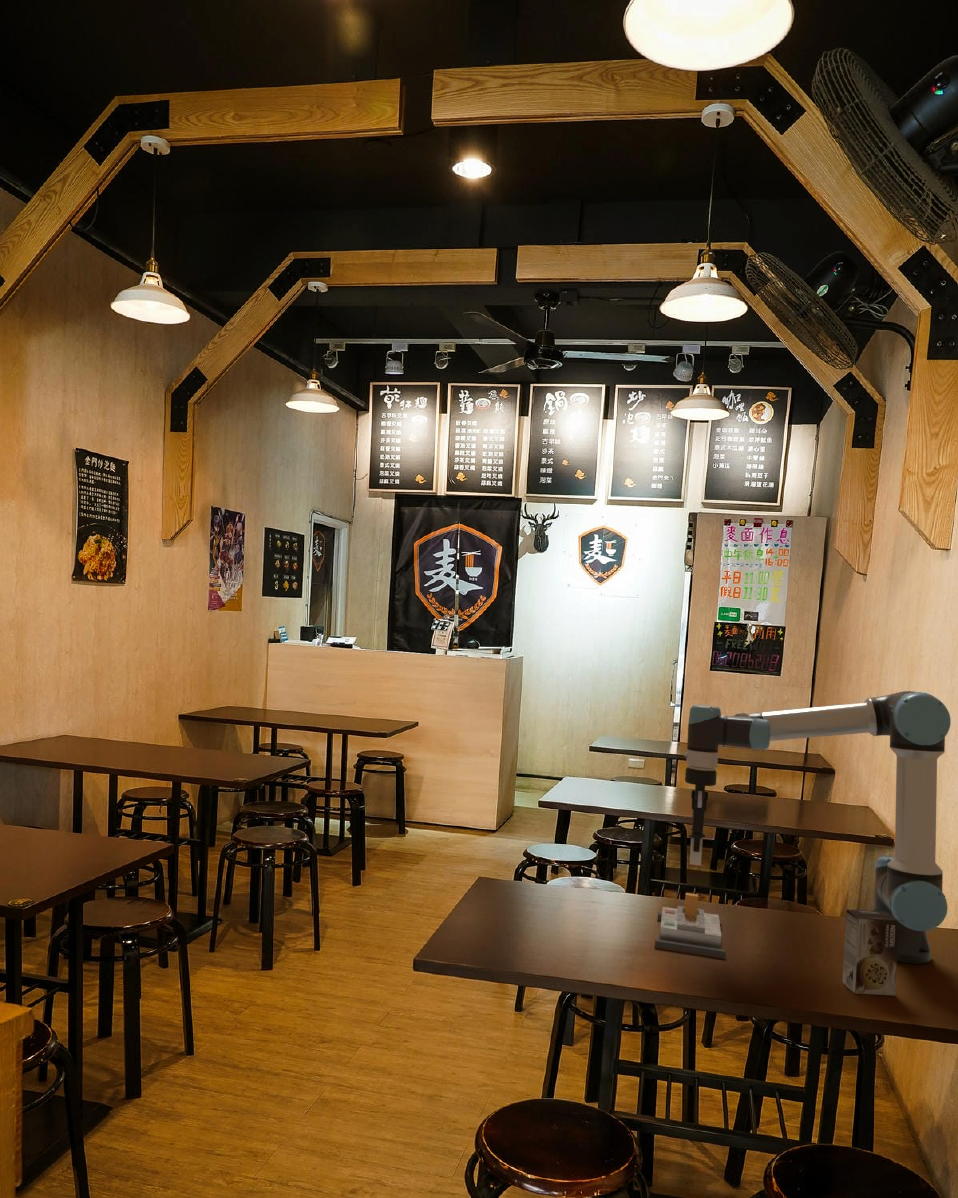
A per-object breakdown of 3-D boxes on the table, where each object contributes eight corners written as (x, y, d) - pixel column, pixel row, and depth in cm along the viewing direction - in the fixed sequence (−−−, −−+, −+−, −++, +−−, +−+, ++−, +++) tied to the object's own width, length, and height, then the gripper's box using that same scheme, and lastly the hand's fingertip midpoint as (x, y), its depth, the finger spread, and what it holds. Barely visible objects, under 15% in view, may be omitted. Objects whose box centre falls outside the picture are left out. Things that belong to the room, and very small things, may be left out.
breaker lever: (696, 914, 224) (698, 894, 224) (696, 917, 222) (698, 896, 223) (684, 913, 225) (685, 892, 225) (684, 915, 223) (685, 895, 223)
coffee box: (881, 985, 197) (885, 911, 198) (896, 997, 191) (900, 920, 191) (840, 982, 197) (845, 908, 197) (854, 994, 190) (859, 917, 191)
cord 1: (721, 928, 229) (721, 922, 229) (721, 930, 227) (721, 923, 227) (657, 919, 233) (658, 912, 233) (657, 920, 231) (657, 914, 231)
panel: (717, 931, 226) (718, 911, 227) (720, 953, 209) (721, 932, 209) (661, 922, 230) (662, 903, 230) (659, 944, 212) (660, 923, 212)
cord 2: (724, 956, 207) (725, 949, 207) (725, 959, 206) (725, 952, 206) (654, 945, 211) (655, 939, 211) (654, 948, 209) (655, 941, 209)
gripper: (685, 763, 229) (679, 856, 227) (685, 769, 216) (679, 868, 215) (716, 766, 227) (710, 860, 226) (717, 772, 214) (711, 872, 213)
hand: (695, 864), depth 220 cm, fingers closed
